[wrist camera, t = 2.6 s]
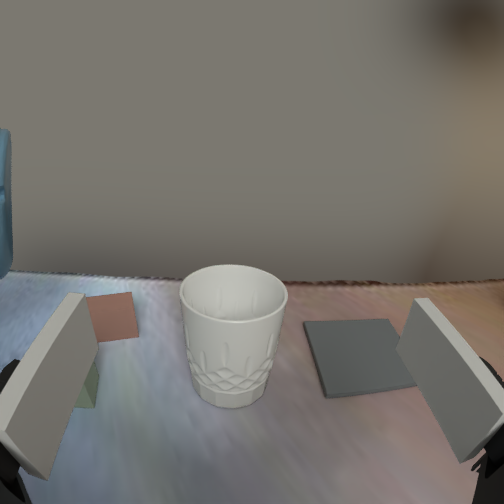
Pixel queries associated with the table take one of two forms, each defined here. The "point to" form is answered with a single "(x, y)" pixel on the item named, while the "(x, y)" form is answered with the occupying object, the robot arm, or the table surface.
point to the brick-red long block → (113, 316)
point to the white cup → (231, 331)
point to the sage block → (88, 389)
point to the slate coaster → (357, 357)
